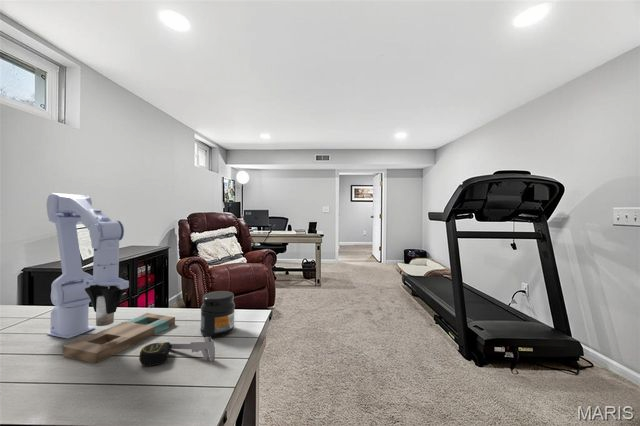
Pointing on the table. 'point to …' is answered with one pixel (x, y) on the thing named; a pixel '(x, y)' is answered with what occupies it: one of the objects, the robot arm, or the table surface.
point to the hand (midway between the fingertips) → (105, 311)
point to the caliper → (197, 347)
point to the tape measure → (154, 353)
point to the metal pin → (102, 312)
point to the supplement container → (217, 314)
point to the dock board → (117, 337)
